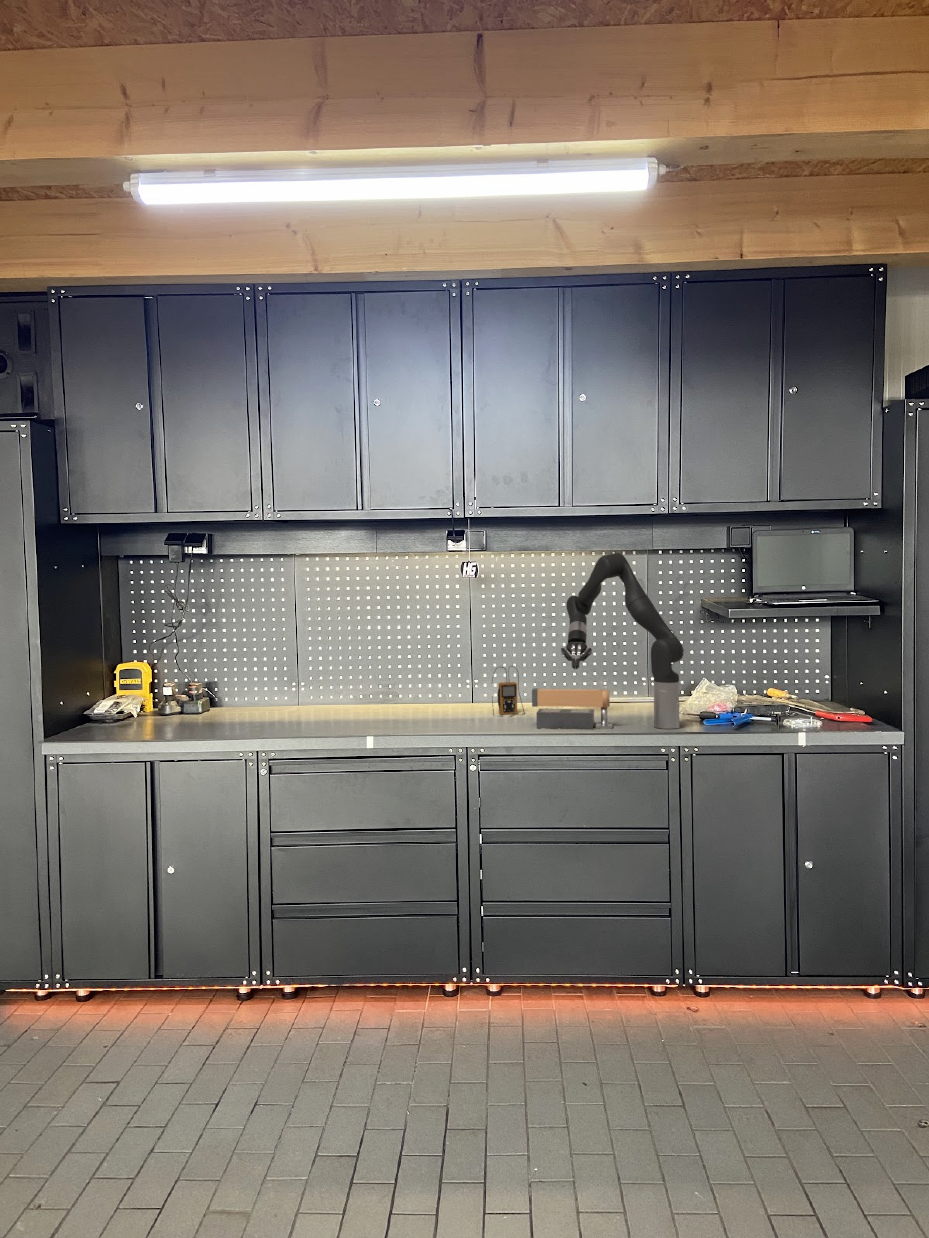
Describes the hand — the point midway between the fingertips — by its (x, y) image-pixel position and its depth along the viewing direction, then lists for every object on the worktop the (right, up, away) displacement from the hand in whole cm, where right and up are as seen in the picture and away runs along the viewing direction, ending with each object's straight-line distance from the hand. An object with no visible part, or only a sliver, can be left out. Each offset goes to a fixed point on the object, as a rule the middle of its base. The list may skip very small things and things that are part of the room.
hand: (575, 667), depth 366 cm
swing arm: (-4, -14, -18) cm, 23 cm away
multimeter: (-25, -20, +12) cm, 34 cm away
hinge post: (+8, -21, -20) cm, 31 cm away
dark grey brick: (-6, -21, -17) cm, 28 cm away
